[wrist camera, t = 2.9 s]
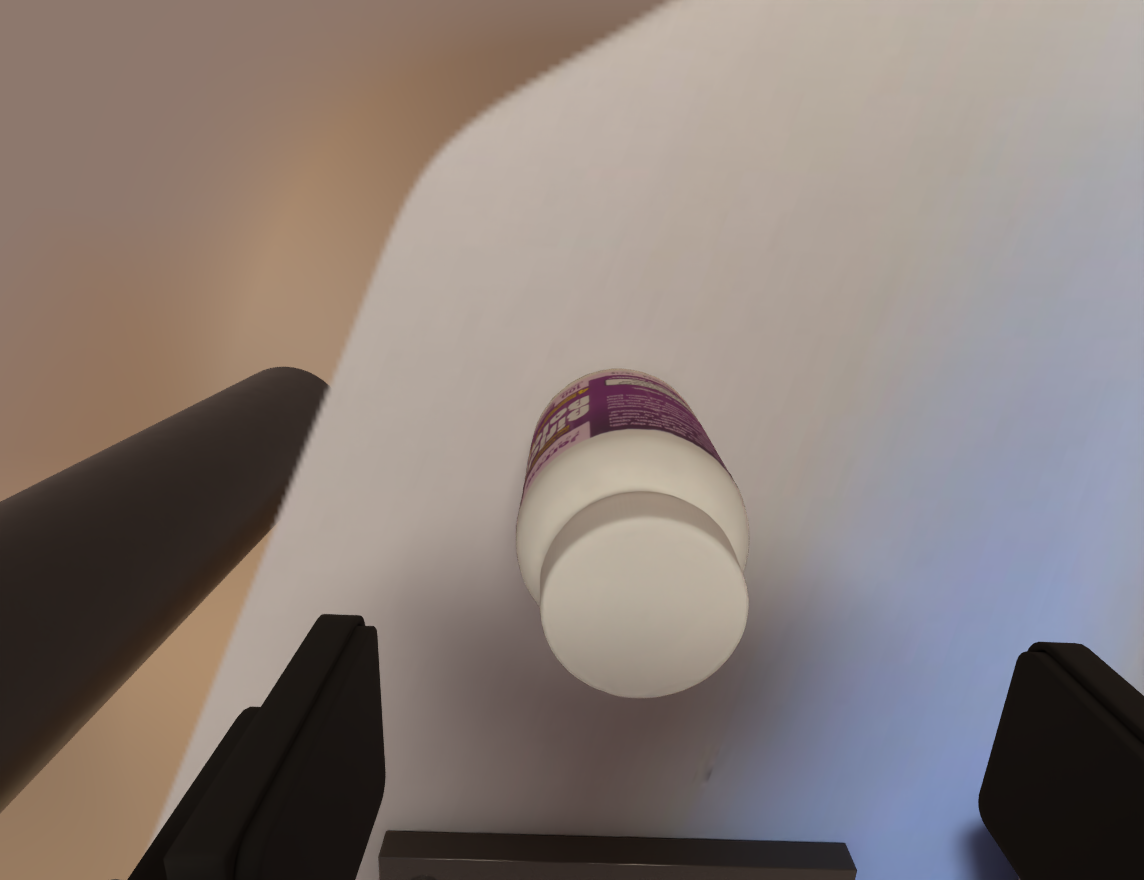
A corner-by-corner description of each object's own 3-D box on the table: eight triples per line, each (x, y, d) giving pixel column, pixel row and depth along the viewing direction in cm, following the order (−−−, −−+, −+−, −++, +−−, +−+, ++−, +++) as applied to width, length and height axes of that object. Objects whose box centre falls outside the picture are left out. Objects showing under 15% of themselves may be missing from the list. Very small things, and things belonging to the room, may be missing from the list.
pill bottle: (549, 349, 21) (533, 450, 12) (717, 384, 22) (826, 510, 12) (516, 508, 23) (480, 704, 14) (673, 538, 23) (741, 750, 14)
